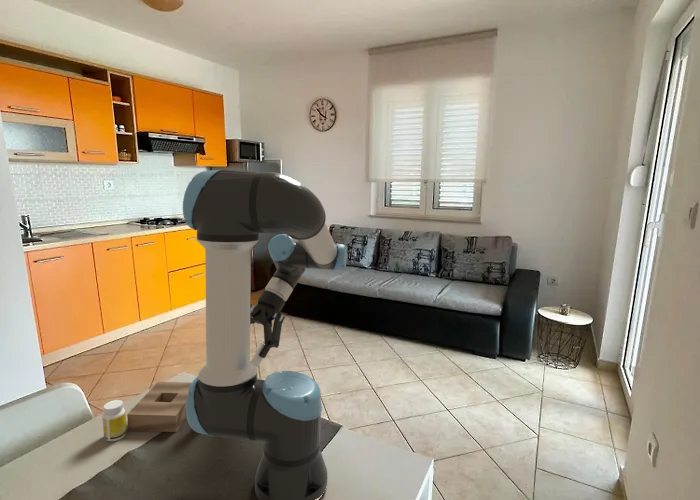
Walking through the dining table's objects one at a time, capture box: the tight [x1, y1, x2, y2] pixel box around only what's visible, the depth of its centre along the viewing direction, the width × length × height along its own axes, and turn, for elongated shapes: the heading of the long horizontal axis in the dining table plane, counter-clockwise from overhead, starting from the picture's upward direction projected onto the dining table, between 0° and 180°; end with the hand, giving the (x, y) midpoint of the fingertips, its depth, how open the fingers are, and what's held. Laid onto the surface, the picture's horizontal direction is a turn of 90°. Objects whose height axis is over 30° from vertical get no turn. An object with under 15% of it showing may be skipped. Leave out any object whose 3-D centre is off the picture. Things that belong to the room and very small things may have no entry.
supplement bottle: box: [102, 399, 128, 442], centre depth 93 cm, size 5×5×8 cm
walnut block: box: [126, 381, 192, 433], centre depth 104 cm, size 16×12×4 cm
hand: (235, 360), depth 106 cm, fingers open, 13 cm apart
